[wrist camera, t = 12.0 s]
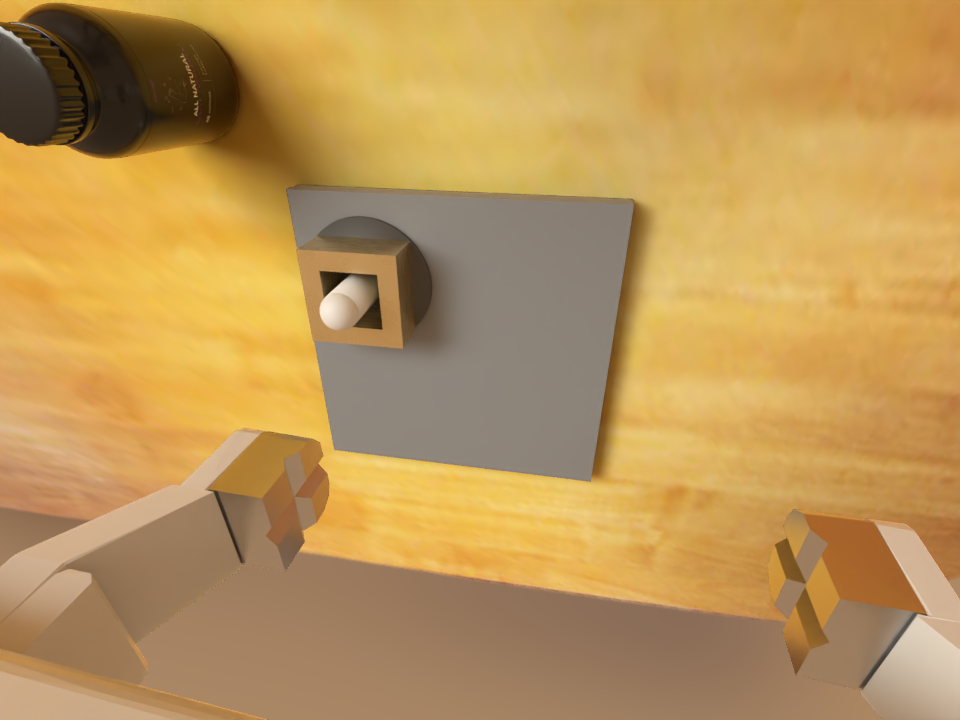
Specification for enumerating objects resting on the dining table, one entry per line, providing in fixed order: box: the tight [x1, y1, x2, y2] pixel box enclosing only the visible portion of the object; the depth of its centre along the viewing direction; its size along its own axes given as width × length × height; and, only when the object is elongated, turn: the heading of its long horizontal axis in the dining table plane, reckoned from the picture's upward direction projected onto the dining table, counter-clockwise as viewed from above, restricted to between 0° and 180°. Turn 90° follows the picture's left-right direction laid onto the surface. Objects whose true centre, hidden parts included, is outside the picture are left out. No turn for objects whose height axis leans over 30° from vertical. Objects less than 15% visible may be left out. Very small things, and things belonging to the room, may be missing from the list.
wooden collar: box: [296, 235, 416, 349], centre depth 34 cm, size 6×6×3 cm
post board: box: [286, 185, 634, 482], centre depth 35 cm, size 22×22×8 cm
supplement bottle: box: [0, 3, 238, 159], centre depth 27 cm, size 7×7×12 cm
